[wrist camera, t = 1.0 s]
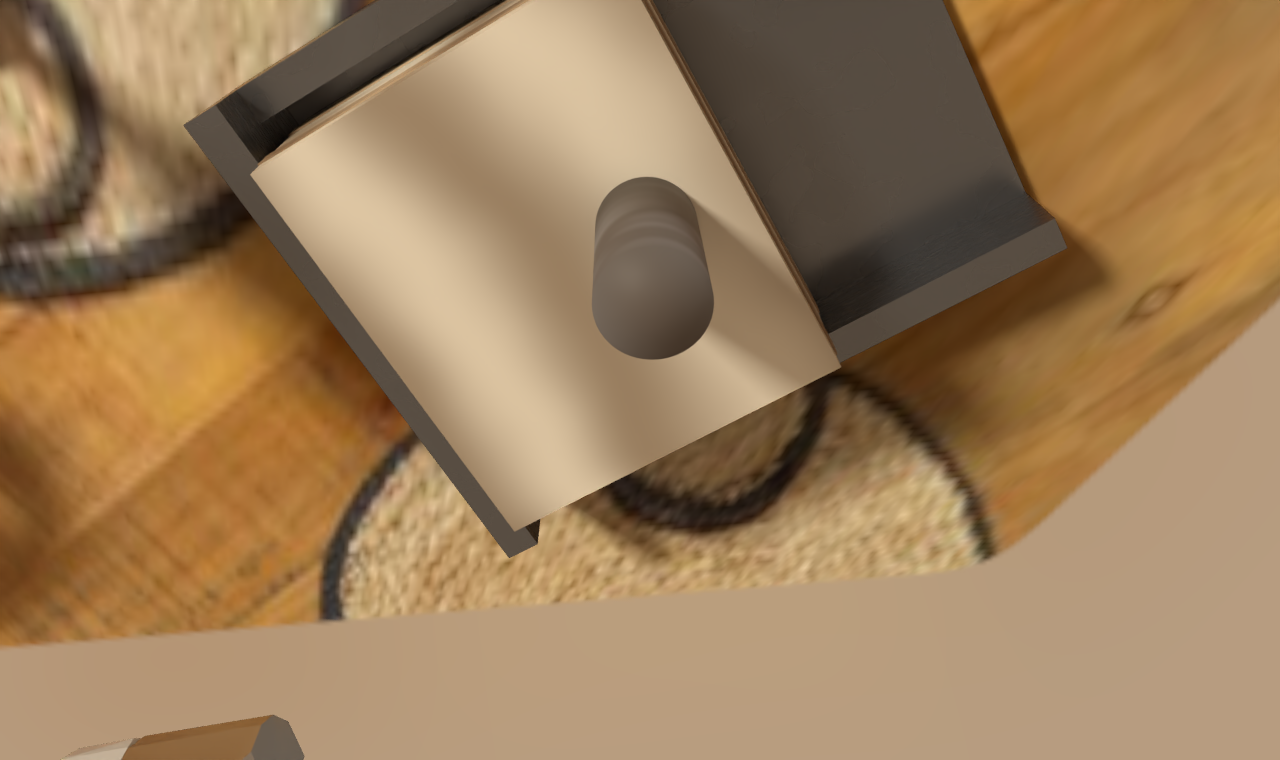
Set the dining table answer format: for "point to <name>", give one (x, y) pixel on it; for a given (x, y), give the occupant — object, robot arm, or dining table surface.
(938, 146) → the bay
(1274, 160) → the dining table surface
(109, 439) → the dining table surface
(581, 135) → the beige knobbed block
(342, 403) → the dining table surface
